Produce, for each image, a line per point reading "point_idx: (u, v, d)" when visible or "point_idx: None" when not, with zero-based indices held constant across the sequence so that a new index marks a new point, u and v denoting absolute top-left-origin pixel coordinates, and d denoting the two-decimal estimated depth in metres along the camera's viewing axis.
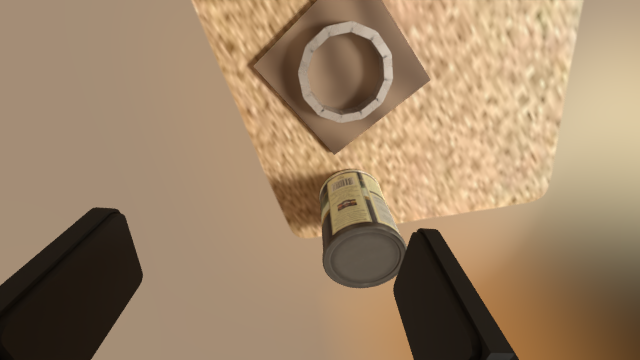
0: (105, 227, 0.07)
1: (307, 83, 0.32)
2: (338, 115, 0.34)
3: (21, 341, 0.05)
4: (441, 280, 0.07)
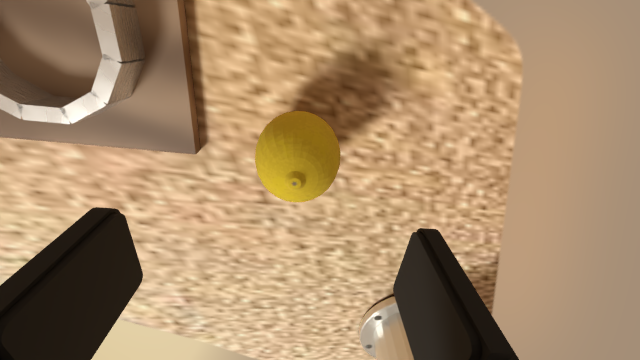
0: (105, 227, 0.07)
1: None
2: None
3: (21, 341, 0.05)
4: (441, 280, 0.07)
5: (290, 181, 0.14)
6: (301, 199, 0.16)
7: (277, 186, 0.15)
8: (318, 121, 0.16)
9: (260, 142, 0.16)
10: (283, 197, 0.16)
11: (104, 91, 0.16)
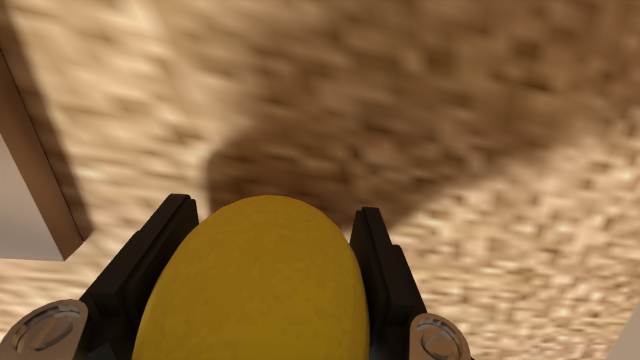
0: (185, 209, 0.08)
1: None
2: None
3: (141, 300, 0.06)
4: (368, 249, 0.08)
5: None
6: None
7: None
8: (311, 255, 0.06)
9: (140, 328, 0.05)
10: None
11: None
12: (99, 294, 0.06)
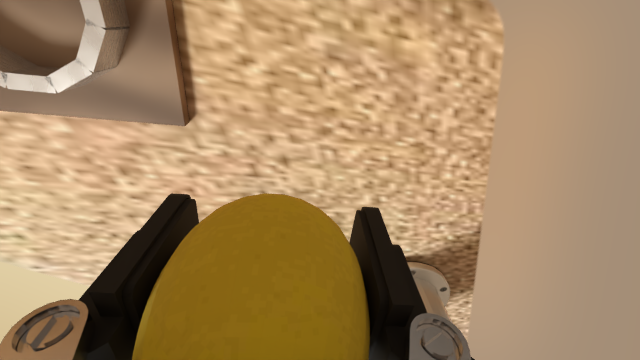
0: (185, 210, 0.08)
1: None
2: None
3: (141, 300, 0.06)
4: (368, 249, 0.08)
5: None
6: None
7: None
8: (311, 253, 0.06)
9: (141, 325, 0.05)
10: None
11: (89, 59, 0.16)
12: (99, 294, 0.06)
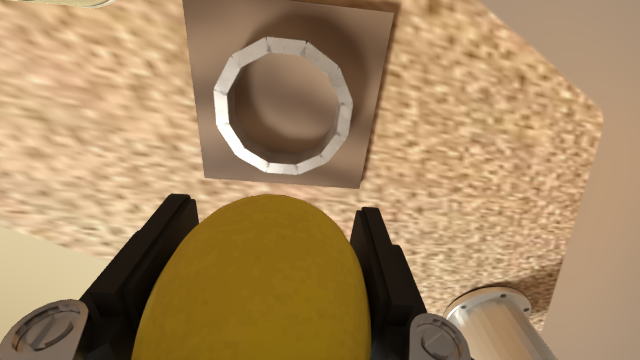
0: (185, 210, 0.08)
1: (317, 65, 0.20)
2: (243, 63, 0.20)
3: (141, 300, 0.06)
4: (368, 249, 0.08)
5: None
6: None
7: None
8: (312, 255, 0.06)
9: (140, 328, 0.05)
10: None
11: (329, 154, 0.24)
12: (99, 294, 0.06)
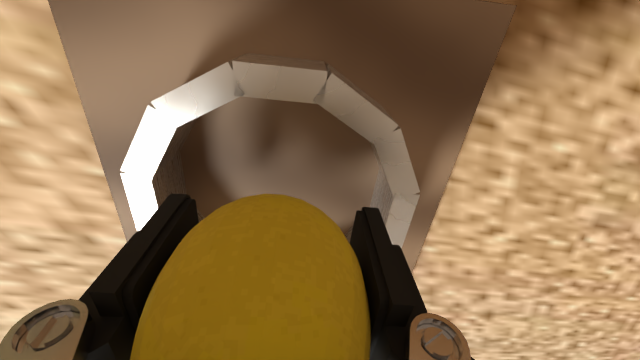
0: (185, 210, 0.08)
1: (351, 123, 0.09)
2: (182, 119, 0.09)
3: (141, 300, 0.06)
4: (368, 249, 0.08)
5: None
6: None
7: None
8: (311, 254, 0.06)
9: (139, 327, 0.05)
10: None
11: None
12: (99, 294, 0.06)
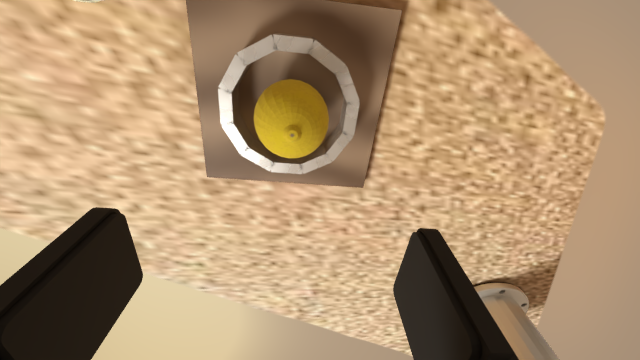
0: (105, 227, 0.07)
1: (324, 63, 0.20)
2: (249, 61, 0.20)
3: (21, 341, 0.05)
4: (441, 280, 0.07)
5: (288, 133, 0.17)
6: (296, 153, 0.18)
7: (276, 139, 0.18)
8: (310, 87, 0.19)
9: (260, 102, 0.18)
10: (280, 151, 0.18)
11: (334, 153, 0.24)
12: None
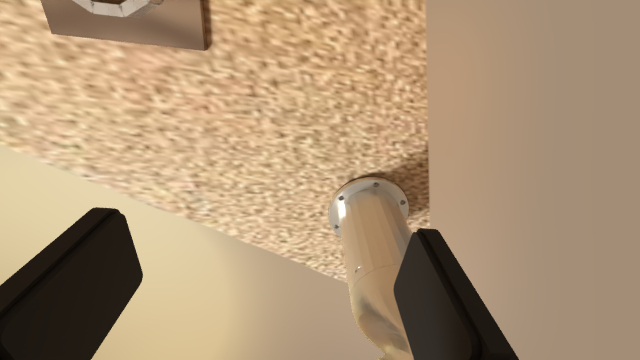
0: (105, 227, 0.07)
1: None
2: None
3: (21, 341, 0.05)
4: (441, 280, 0.07)
5: None
6: None
7: None
8: None
9: None
10: None
11: None
12: None
